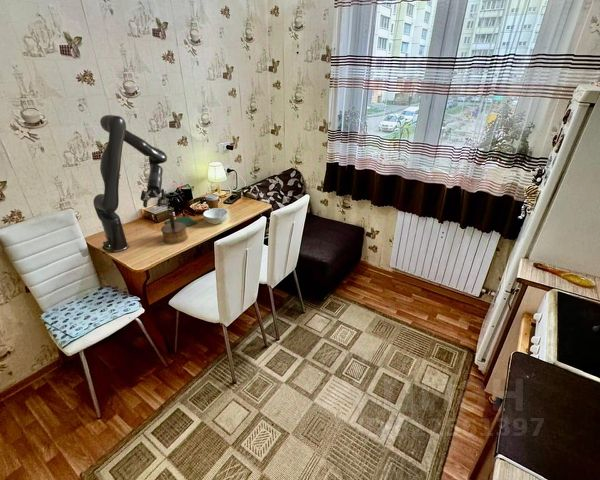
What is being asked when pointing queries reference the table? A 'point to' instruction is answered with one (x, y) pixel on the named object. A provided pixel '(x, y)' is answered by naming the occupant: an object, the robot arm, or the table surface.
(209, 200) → the disposable coffee cup
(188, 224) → the mat
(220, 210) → the cereal bowl
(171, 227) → the basket lid
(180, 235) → the basket
